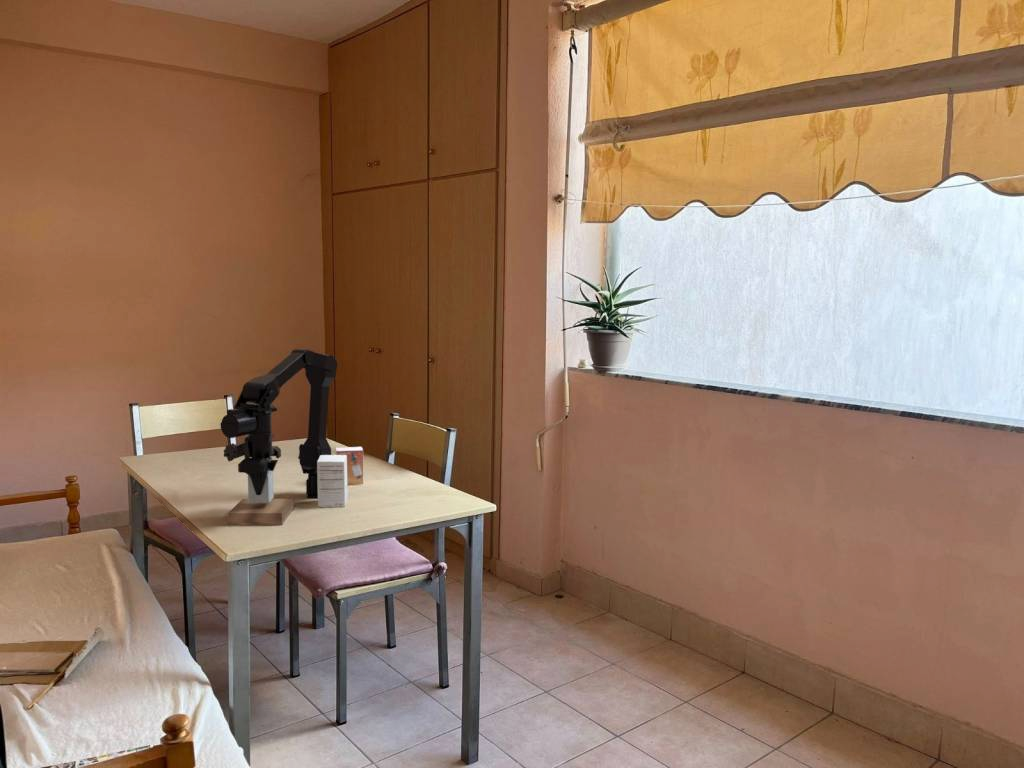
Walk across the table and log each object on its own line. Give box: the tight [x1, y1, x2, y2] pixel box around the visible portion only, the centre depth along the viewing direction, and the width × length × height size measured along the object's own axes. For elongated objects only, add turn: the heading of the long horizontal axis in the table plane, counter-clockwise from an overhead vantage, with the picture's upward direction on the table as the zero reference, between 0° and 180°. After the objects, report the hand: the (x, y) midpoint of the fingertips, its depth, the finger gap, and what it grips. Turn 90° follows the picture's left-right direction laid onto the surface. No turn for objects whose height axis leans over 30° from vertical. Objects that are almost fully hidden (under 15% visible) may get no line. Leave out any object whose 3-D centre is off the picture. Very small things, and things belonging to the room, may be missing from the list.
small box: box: [334, 446, 364, 486], centre depth 235 cm, size 8×6×10 cm
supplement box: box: [317, 454, 349, 508], centre depth 212 cm, size 7×7×13 cm
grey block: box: [247, 471, 275, 503], centre depth 199 cm, size 5×5×7 cm
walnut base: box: [227, 498, 294, 526], centre depth 199 cm, size 13×13×3 cm
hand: (261, 492), depth 199 cm, fingers closed on grey block, 5 cm apart
